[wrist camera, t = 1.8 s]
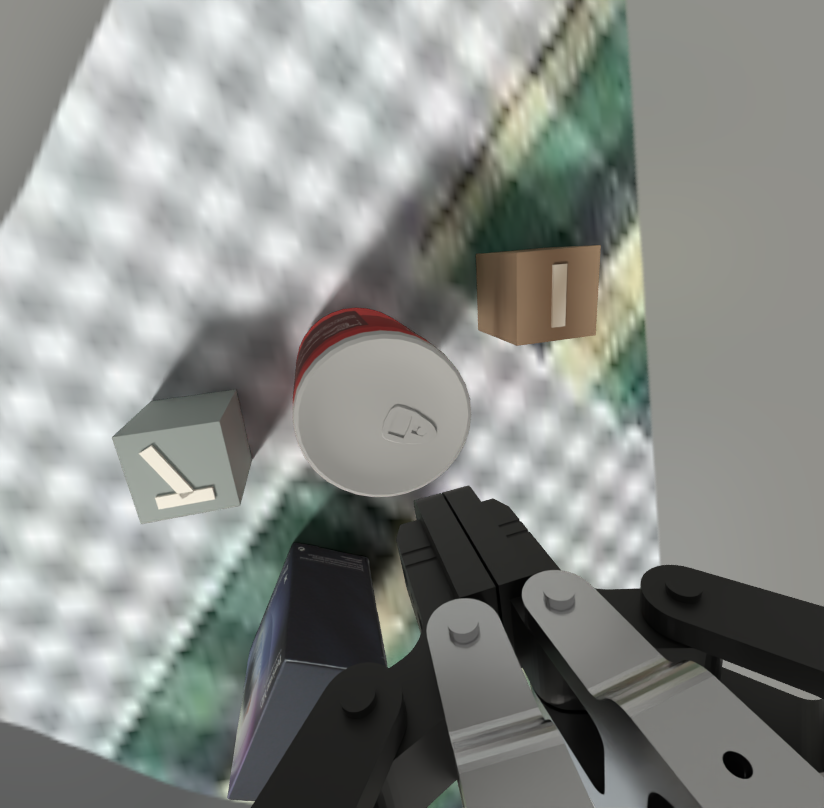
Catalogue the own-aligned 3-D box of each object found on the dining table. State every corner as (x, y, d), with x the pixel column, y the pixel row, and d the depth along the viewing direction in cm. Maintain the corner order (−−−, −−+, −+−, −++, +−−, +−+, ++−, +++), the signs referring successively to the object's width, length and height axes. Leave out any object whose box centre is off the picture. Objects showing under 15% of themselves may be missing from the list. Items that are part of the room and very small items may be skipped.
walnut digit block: (545, 247, 30) (602, 245, 24) (543, 321, 31) (597, 335, 26) (475, 254, 29) (518, 252, 23) (478, 330, 30) (518, 346, 25)
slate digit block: (236, 389, 28) (218, 422, 22) (252, 459, 30) (239, 507, 24) (151, 400, 27) (110, 438, 21) (172, 472, 29) (139, 526, 23)
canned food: (410, 420, 31) (460, 498, 21) (294, 417, 29) (288, 501, 19) (422, 311, 29) (486, 340, 19) (298, 300, 27) (294, 324, 17)
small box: (287, 537, 32) (280, 658, 22) (370, 554, 34) (397, 672, 24) (244, 651, 34) (220, 807, 24) (324, 661, 36) (332, 808, 27)
